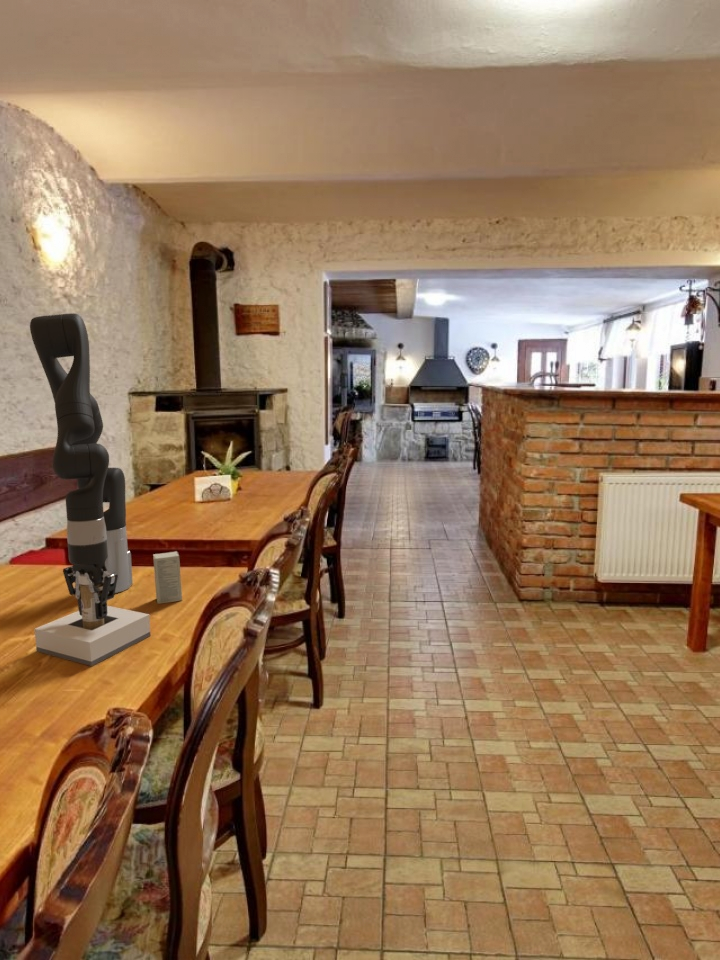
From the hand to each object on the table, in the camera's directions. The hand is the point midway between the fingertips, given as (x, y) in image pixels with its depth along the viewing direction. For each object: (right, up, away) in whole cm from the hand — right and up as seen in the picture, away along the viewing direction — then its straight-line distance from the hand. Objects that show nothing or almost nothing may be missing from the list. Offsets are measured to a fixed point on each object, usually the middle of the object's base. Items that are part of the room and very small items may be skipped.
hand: (93, 615), depth 129 cm
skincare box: (+8, -2, +27) cm, 28 cm away
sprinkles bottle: (0, -4, +1) cm, 4 cm away
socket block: (0, -6, +1) cm, 6 cm away
